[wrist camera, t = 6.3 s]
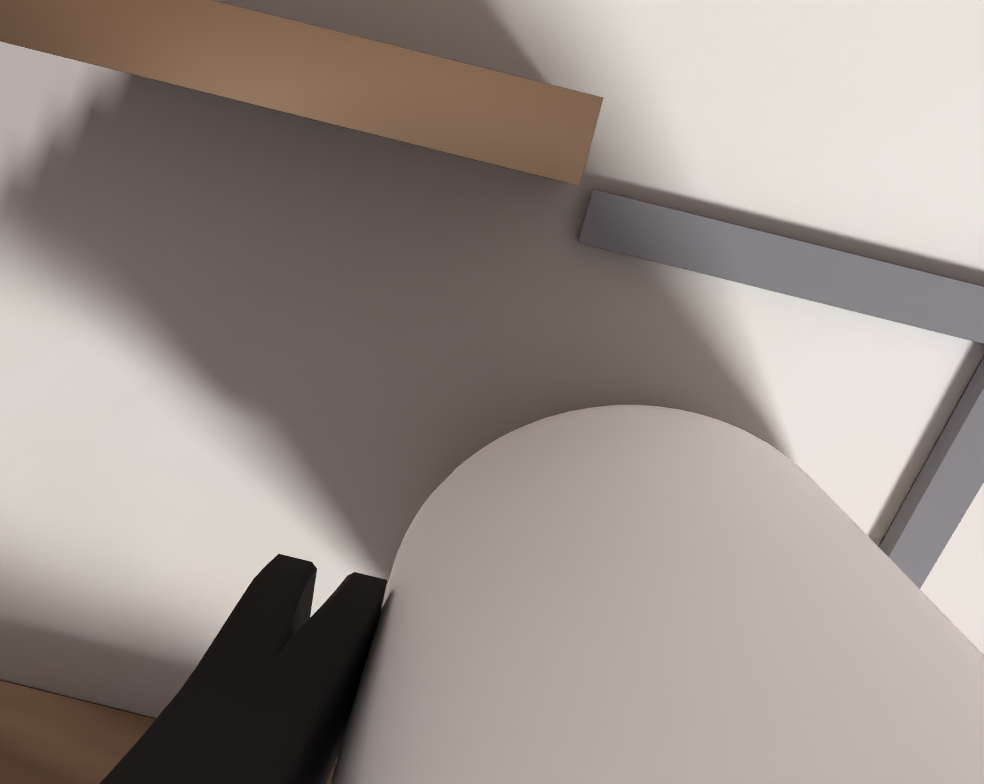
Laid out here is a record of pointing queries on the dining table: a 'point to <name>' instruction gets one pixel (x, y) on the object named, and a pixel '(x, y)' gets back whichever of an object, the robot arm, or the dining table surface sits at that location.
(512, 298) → the dining table surface
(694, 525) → the cup
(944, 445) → the bracket
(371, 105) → the wooden pieces
